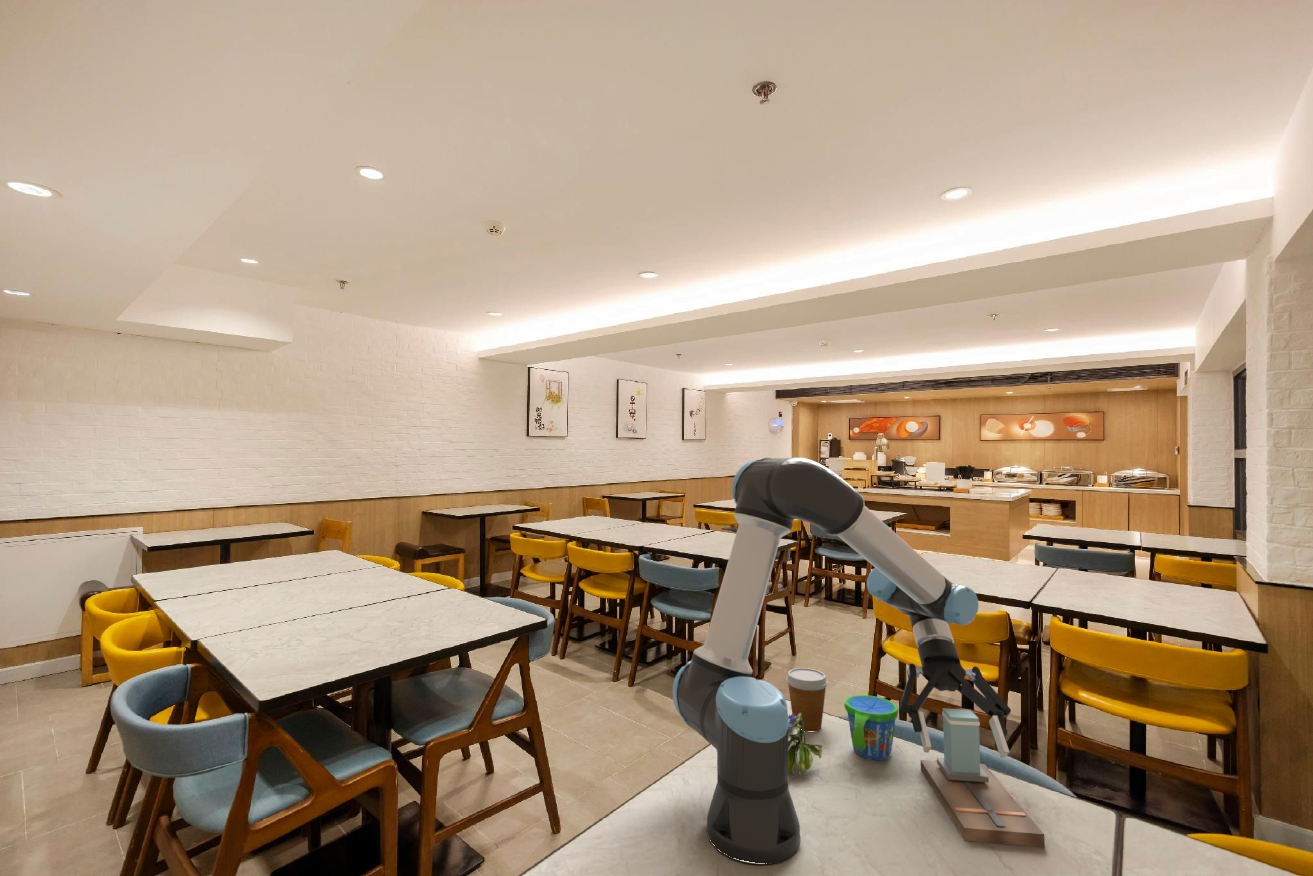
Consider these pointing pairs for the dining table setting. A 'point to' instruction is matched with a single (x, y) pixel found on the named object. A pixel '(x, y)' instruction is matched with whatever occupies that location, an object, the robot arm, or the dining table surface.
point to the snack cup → (871, 725)
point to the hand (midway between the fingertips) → (966, 752)
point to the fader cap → (961, 746)
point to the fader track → (983, 809)
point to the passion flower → (799, 746)
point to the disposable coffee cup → (807, 696)
